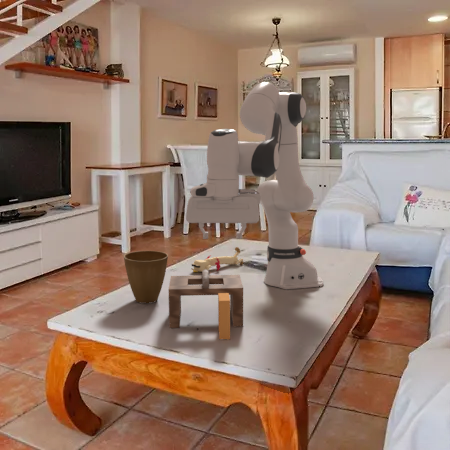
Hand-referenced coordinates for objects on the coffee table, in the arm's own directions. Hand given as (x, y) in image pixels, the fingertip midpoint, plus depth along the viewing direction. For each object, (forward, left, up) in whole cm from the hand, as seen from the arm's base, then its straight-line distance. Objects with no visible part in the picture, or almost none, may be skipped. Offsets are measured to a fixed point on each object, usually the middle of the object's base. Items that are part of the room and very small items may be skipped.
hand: (222, 238), depth 143 cm
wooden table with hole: (+5, -12, -28) cm, 31 cm away
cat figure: (-1, -71, -29) cm, 77 cm away
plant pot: (+25, -31, -28) cm, 49 cm away
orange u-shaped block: (0, +1, -28) cm, 28 cm away
